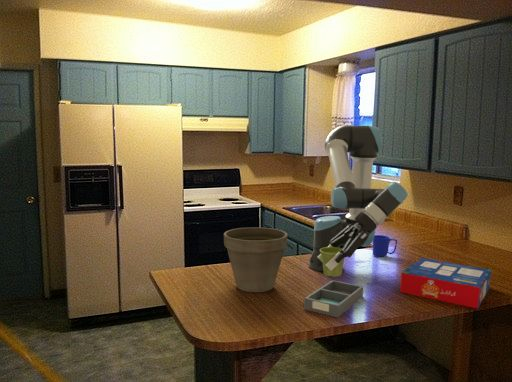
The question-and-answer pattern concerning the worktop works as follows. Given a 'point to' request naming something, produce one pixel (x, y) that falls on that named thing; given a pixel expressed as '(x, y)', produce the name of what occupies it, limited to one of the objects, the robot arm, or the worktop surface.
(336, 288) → the tray
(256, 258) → the plant pot
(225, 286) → the worktop surface
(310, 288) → the worktop surface
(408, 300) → the worktop surface
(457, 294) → the pasta box
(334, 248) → the plant pot
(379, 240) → the mug
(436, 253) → the worktop surface
